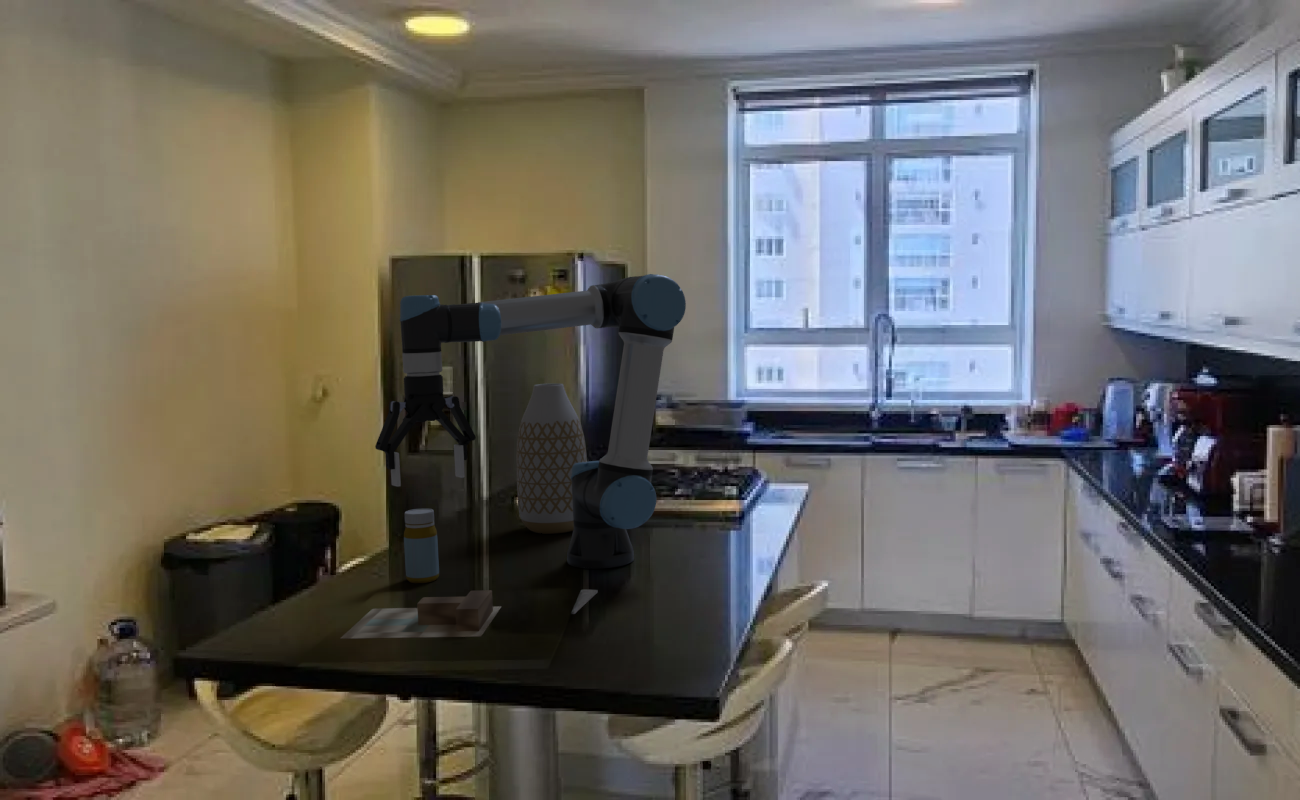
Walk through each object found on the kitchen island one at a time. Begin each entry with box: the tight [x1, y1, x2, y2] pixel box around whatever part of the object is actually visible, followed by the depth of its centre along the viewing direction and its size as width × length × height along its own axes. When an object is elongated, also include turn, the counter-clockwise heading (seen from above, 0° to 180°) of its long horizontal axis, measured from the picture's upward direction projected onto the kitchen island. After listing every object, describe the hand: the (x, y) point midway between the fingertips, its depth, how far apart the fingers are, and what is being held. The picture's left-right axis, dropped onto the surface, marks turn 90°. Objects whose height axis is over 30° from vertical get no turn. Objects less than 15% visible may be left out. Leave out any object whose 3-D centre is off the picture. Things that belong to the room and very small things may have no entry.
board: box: [340, 605, 502, 640], centre depth 191 cm, size 25×18×1 cm
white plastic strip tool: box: [570, 588, 599, 615], centre depth 205 cm, size 5×15×1 cm, turn 165°
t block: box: [416, 589, 494, 631], centre depth 190 cm, size 12×12×4 cm
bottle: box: [403, 508, 440, 584], centre depth 225 cm, size 7×7×15 cm
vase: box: [516, 383, 588, 535], centre depth 272 cm, size 19×19×38 cm
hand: (428, 481), depth 207 cm, fingers open, 13 cm apart
